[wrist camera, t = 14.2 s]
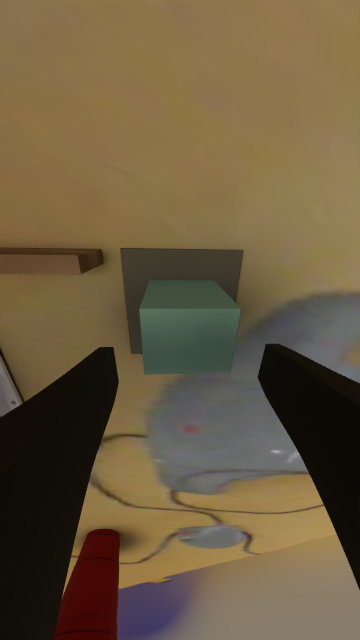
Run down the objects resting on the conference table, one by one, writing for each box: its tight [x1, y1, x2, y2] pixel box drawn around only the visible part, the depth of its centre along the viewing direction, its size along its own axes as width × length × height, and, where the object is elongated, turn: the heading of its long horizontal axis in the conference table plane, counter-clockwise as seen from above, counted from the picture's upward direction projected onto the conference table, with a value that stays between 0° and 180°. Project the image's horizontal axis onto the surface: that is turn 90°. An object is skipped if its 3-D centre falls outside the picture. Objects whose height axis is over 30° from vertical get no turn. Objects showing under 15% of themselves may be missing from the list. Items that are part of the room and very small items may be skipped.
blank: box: [139, 280, 241, 374], centre depth 13 cm, size 4×5×6 cm
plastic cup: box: [53, 529, 120, 640], centre depth 28 cm, size 11×11×12 cm
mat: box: [120, 248, 243, 354], centre depth 16 cm, size 9×9×1 cm
